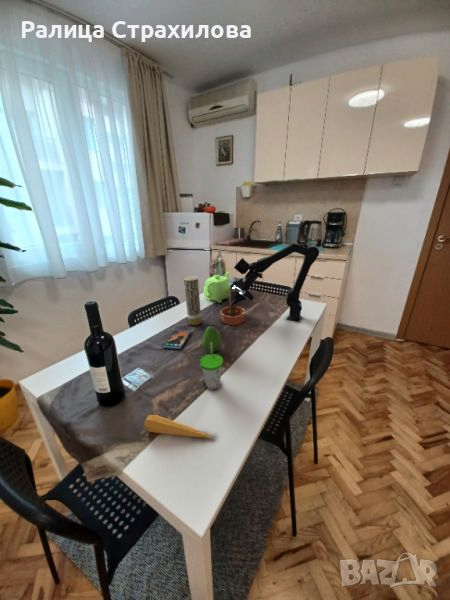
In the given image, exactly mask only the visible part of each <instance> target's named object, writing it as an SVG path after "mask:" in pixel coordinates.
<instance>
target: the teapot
mask: <svg viewBox="0 0 450 600" xmlns="http://www.w3.org/2000/svg"><path fill="white" fill-rule="evenodd" d="M229 274H230V271H227V272H226V273H225V275H224V276H223V275H220V274H214V276H211V277H209V278H207V279H206V280H205V283H204V287H203V296H204V297H205V298H206V299H207V301H212V300H214V301H216V302H217V303H222V302H223V300H224V299H229V297H230V294H229V291H230V290H231V287H230V286H229V285H228V284H229V283H230V279H229Z"/></svg>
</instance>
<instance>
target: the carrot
mask: <svg viewBox="0 0 450 600" xmlns="http://www.w3.org/2000/svg"><path fill="white" fill-rule="evenodd" d="M143 424H144V425H143V426H144V430H145V431H147V432H149V433H157V434H165V435H174V436H183V437H184V436H185V437H192V438H193V437H194V438H209V439H215V437H213V436H211V435H209V434H207V433H205V432H202V431H200V430H198V429H196V428H192V427H191V426H187V425H184V424H182V423H179V422H176V421H174V420H171V419H169V418H166V417H163V416H160V415H158V414H148V415H147V417H145V420H144V422H143Z"/></svg>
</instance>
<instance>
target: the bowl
mask: <svg viewBox="0 0 450 600" xmlns="http://www.w3.org/2000/svg"><path fill="white" fill-rule="evenodd" d="M229 310H230V306H225V307H223V308H222V309H220V321H221V322H222V323H224V324H225V325H229V326H238V325H241V324H243V323H244V322H245V321H246V309H245V308H243V307H241V306H236V310H237V316H232V317H231V316H229Z"/></svg>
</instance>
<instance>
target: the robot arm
mask: <svg viewBox="0 0 450 600" xmlns="http://www.w3.org/2000/svg"><path fill="white" fill-rule="evenodd" d="M293 253H297V254H299V255H302V256H303V261H302V264H301V266H300V269H299V272H298V274H297V277H296V279H295V281H294V284H293V286H292V288H291V289H289V288H288V289H287V293H286V294H285V301H286V305H287V306H288V307H289V312H288V313H289V314H288V315H287V317H286V320H289V321H292V322H297V323H300V321H301V320H302V319H303V315H302V316H301V313H302V309H303V306H302V305H303V304H302V301H301V300H300V295H301V292H302V291H301V290H302V288H303V286H304V284H305V281H306V280H307V279H306V278H307V277H308V274H309V272H310V270H311V267H312V265H314V263H315V261H316V260H317V259H318V258H319V255H320V250H319V248H318V246H317V245H315V244H309V245H308V244H303V243H298V242H294V241H293V242H291V243H290V244H289V245H287V246H285V247H283V248H282V249H280V250H278V251H276V252H275V253H273V254H271V255H269V256H264V257H263V258H259V259H258V260H256V261H254V262H250V263H249V262H248V261H247V260H246V259H245V258H244V257H241V259H239V261H238V262H236V264H235V265H234V267H233V269H235V271H237V272H238V273H239V274H240V275H244V276H243V277H236V276H231V278H230V279H229V282H230V283H229V284H228V285H229V286H230V287H231V290H236V297H235V299H234V300H233V302H232V305H234V304H236V305H237V304H238V303H240V302H243V301H245V300H249V301H250V302H251V301H253V300H254V296H255V295H253V293H251V292H250V291H249V289H250V288H253V287H254V285H253V284H254V283H255V282H256V281H257V279H258V278H259V279H263V273H264V272H265V271H266V270H268V269H269V268H270V267H271V266H272V265H274V264H276V262H279V261H281V260H283V259H285V258H286V257H288V256H290V255H291V254H293ZM227 302H228V304H230V297H228V301H227Z"/></svg>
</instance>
